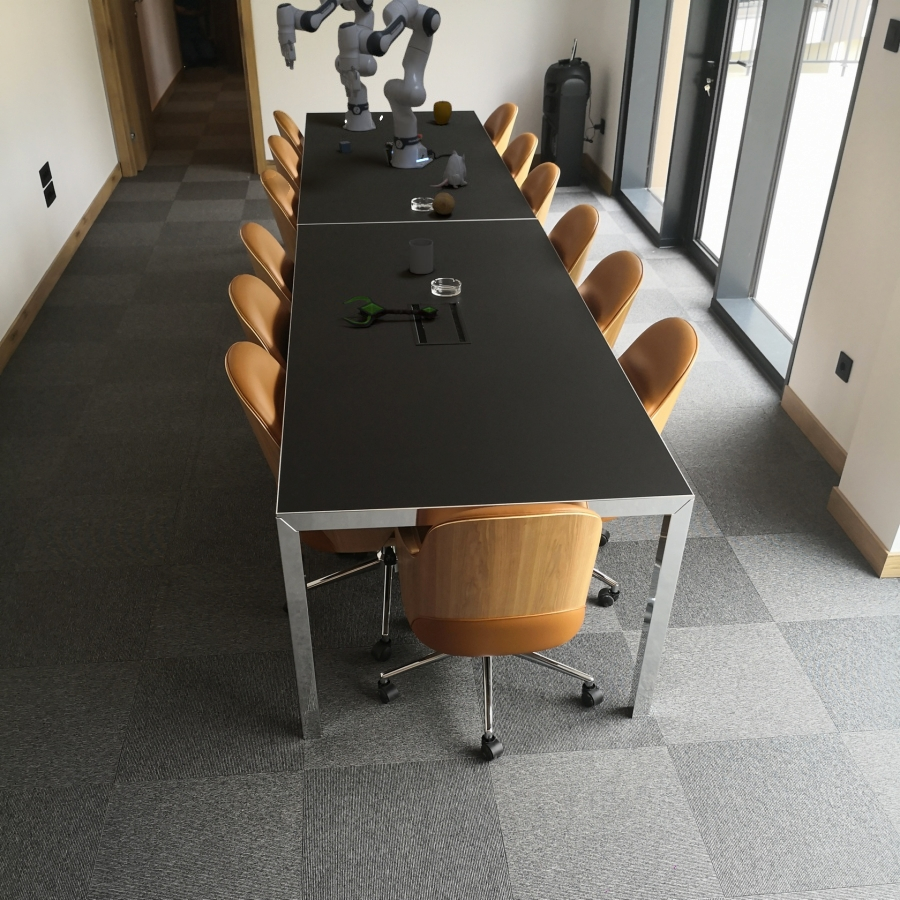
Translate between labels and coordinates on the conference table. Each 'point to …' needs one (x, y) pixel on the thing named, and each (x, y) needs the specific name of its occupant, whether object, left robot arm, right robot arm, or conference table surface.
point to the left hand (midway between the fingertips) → (289, 68)
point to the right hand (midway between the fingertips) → (351, 99)
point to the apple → (442, 112)
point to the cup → (421, 256)
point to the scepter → (384, 311)
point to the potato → (443, 203)
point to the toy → (454, 171)
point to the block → (344, 146)
